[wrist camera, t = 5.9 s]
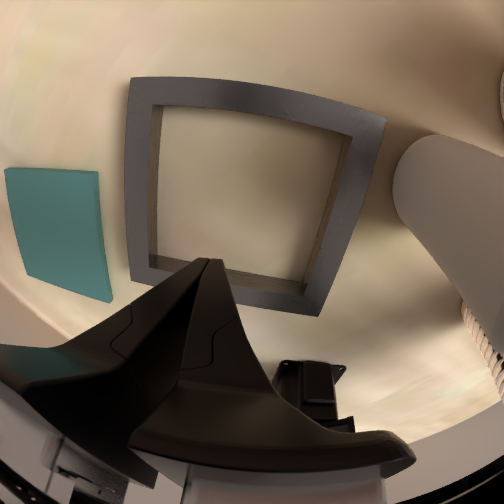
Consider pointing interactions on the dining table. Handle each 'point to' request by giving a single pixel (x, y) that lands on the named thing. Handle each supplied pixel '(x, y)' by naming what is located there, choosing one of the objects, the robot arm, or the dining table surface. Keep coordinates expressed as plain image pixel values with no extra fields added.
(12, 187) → the teal mat
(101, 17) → the dining table surface
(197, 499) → the robot arm
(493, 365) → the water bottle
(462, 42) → the dining table surface
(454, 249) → the beverage can
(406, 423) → the dining table surface
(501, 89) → the supplement can
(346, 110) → the gray square frame
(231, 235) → the dining table surface
